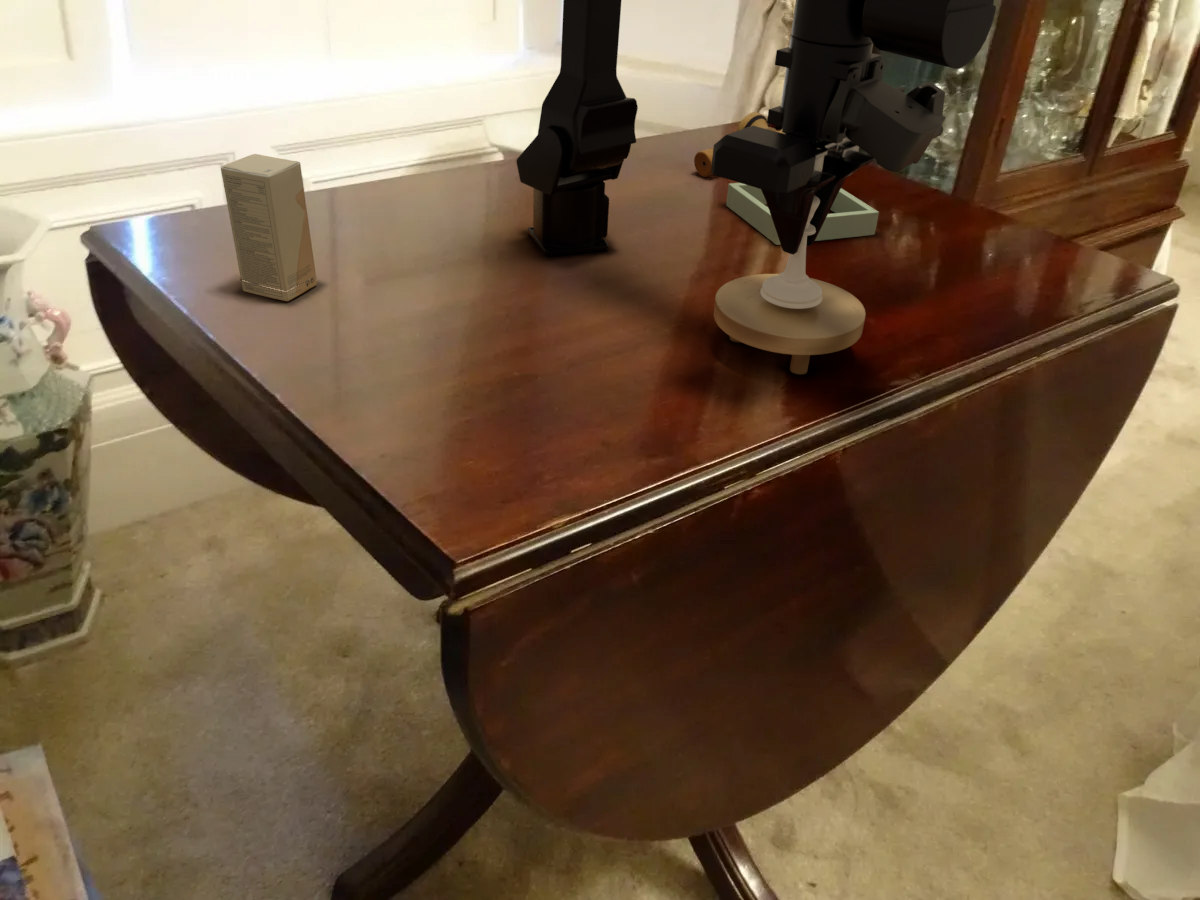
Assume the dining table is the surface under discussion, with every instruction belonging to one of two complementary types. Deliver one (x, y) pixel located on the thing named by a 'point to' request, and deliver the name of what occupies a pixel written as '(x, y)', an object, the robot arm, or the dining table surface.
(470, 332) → the dining table surface
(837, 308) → the stool
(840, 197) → the square frame
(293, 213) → the box
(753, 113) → the kendama
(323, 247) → the dining table surface
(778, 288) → the chess piece
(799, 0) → the robot arm
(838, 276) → the dining table surface
